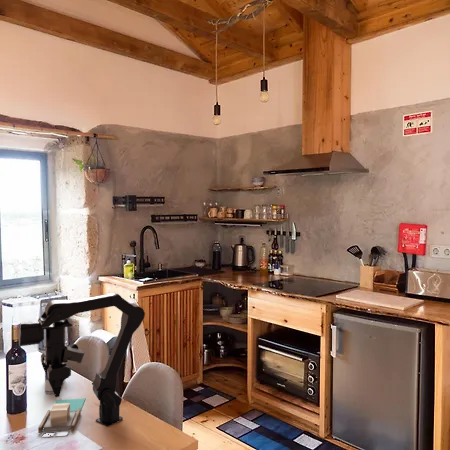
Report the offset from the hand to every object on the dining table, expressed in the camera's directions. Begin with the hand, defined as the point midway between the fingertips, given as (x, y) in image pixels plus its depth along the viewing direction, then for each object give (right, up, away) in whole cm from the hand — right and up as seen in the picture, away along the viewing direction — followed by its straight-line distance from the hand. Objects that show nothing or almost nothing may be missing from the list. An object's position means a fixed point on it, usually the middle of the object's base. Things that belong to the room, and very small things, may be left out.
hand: (55, 391), depth 131 cm
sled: (-1, -13, +6) cm, 14 cm away
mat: (-3, -13, +19) cm, 23 cm away
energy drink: (-14, -13, +31) cm, 36 cm away
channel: (-1, -13, +5) cm, 14 cm away
